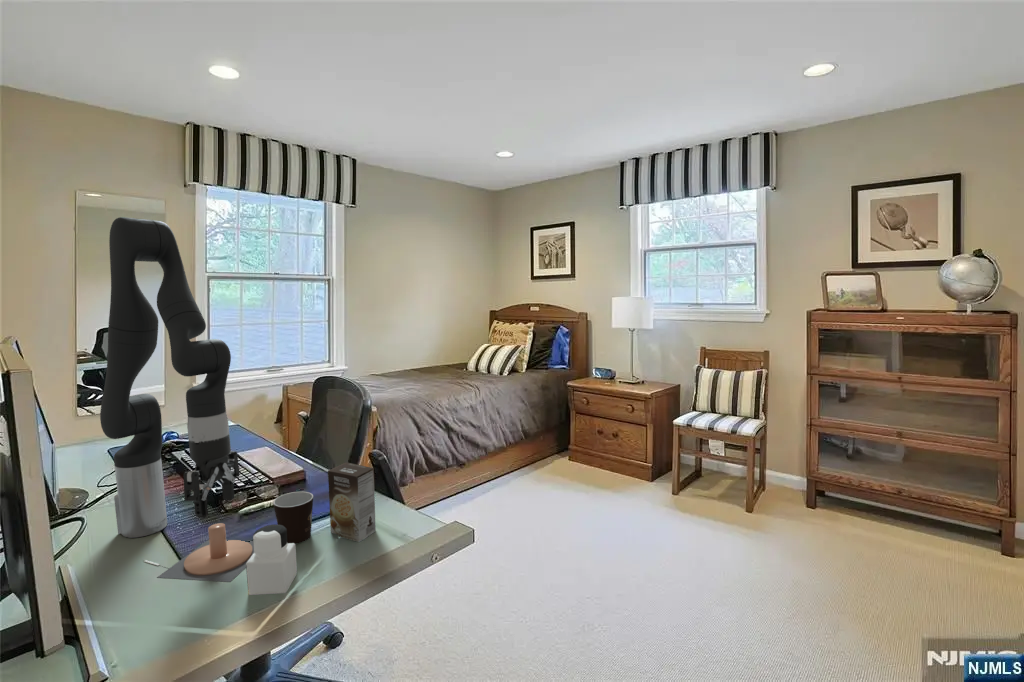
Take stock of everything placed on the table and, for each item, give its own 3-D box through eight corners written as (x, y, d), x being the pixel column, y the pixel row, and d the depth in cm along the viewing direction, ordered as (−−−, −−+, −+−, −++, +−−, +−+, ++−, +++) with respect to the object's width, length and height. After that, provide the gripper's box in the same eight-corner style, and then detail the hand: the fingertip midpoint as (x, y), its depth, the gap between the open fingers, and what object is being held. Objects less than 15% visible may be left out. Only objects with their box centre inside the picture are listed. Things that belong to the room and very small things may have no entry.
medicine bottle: (262, 576, 109) (258, 521, 108) (297, 574, 110) (294, 519, 108) (247, 597, 102) (243, 538, 100) (286, 595, 103) (282, 537, 101)
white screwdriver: (143, 563, 115) (142, 558, 115) (204, 581, 108) (204, 576, 108) (138, 565, 115) (138, 560, 114) (200, 583, 107) (200, 578, 107)
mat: (157, 580, 108) (157, 577, 108) (209, 541, 124) (209, 538, 124) (230, 584, 106) (230, 581, 106) (274, 544, 122) (274, 541, 122)
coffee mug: (301, 550, 119) (299, 508, 118) (267, 547, 121) (264, 505, 120) (329, 526, 130) (327, 487, 129) (298, 523, 132) (295, 485, 131)
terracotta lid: (169, 573, 109) (166, 540, 108) (211, 542, 122) (208, 511, 121) (228, 577, 108) (225, 543, 107) (264, 544, 121) (262, 514, 120)
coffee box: (329, 535, 126) (325, 470, 124) (348, 523, 132) (344, 461, 130) (359, 543, 122) (356, 476, 120) (377, 530, 128) (374, 467, 126)
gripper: (214, 425, 119) (221, 494, 121) (167, 445, 105) (175, 522, 107) (246, 425, 118) (252, 494, 120) (202, 445, 104) (210, 523, 106)
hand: (216, 508), depth 114 cm, fingers open, 8 cm apart
